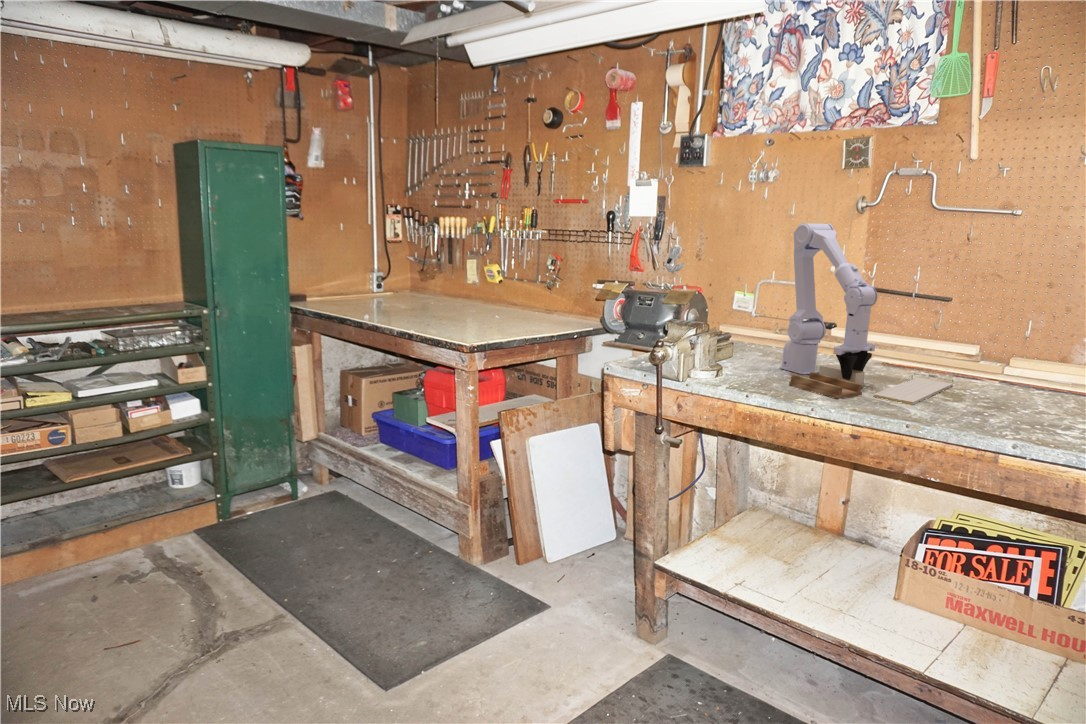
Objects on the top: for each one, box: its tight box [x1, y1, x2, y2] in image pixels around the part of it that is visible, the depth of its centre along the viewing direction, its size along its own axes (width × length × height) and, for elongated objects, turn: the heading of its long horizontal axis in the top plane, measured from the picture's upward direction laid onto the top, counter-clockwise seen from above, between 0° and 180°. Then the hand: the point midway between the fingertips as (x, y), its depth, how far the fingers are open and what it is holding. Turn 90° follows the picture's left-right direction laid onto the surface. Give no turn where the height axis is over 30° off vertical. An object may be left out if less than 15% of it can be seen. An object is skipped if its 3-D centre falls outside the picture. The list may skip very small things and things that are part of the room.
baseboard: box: [869, 373, 954, 406], centre depth 188 cm, size 31×3×12 cm
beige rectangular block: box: [819, 364, 866, 387], centre depth 194 cm, size 12×4×4 cm, turn 28°
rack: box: [788, 372, 863, 399], centre depth 186 cm, size 16×9×3 cm, turn 28°
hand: (851, 378), depth 191 cm, fingers closed on beige rectangular block, 4 cm apart
